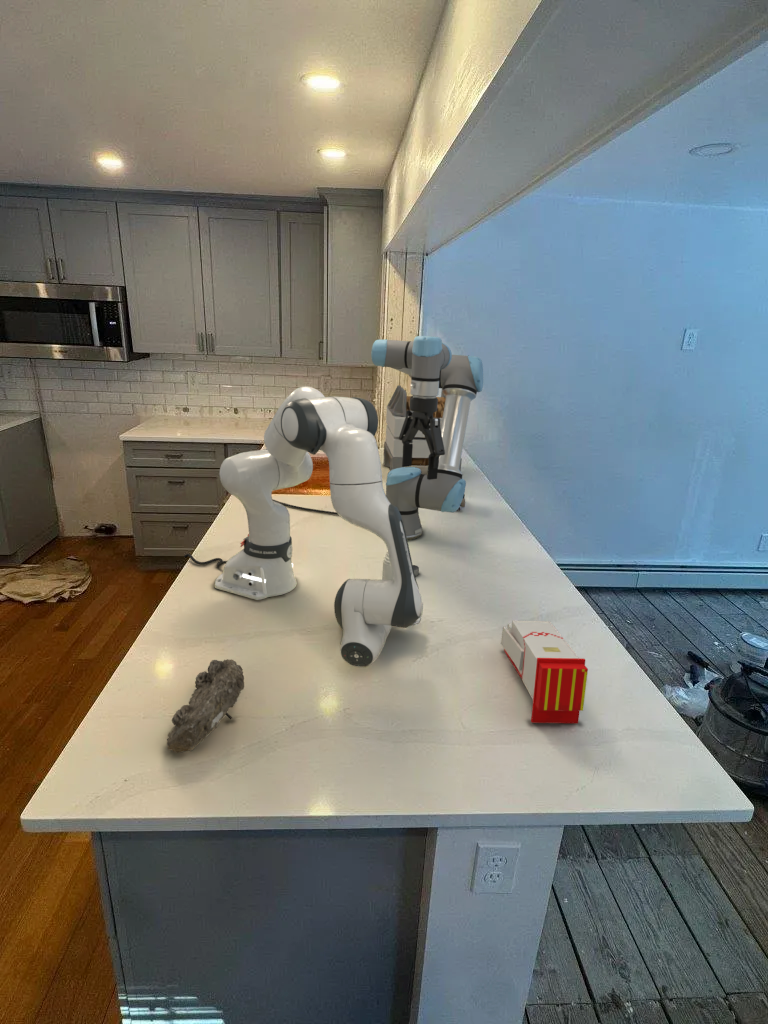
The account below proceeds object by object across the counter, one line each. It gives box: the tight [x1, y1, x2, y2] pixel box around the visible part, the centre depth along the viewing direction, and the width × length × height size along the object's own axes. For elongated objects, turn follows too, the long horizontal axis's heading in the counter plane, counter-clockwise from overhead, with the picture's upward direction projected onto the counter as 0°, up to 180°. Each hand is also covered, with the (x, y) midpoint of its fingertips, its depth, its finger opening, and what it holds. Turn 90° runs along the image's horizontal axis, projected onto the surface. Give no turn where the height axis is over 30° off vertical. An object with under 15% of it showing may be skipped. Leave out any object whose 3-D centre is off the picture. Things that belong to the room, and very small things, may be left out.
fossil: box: [166, 658, 245, 754], centre depth 106 cm, size 22×10×15 cm
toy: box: [500, 620, 589, 724], centre depth 121 cm, size 12×13×30 cm
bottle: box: [381, 551, 394, 580], centre depth 149 cm, size 5×5×19 cm
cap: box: [412, 564, 420, 577], centre depth 170 cm, size 4×4×2 cm
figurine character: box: [458, 493, 466, 511], centre depth 229 cm, size 7×8×15 cm
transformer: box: [383, 384, 463, 472], centre depth 268 cm, size 34×33×41 cm
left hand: (388, 592), depth 146 cm, fingers open, 8 cm apart
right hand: (419, 472), depth 160 cm, fingers open, 13 cm apart
